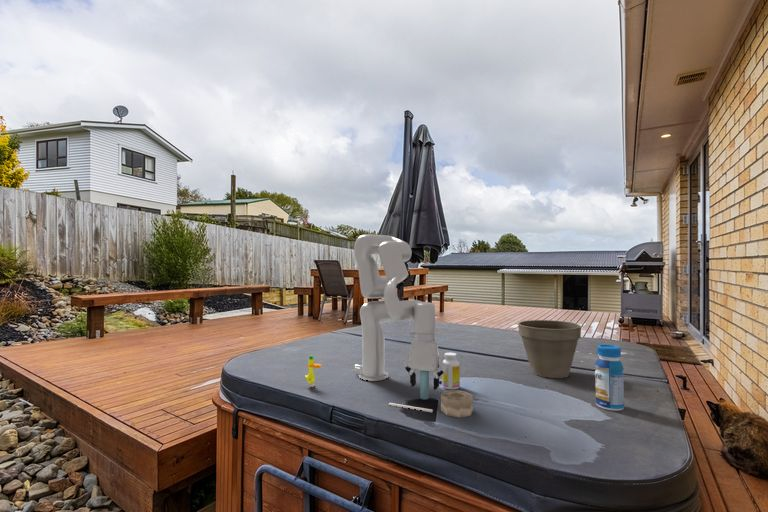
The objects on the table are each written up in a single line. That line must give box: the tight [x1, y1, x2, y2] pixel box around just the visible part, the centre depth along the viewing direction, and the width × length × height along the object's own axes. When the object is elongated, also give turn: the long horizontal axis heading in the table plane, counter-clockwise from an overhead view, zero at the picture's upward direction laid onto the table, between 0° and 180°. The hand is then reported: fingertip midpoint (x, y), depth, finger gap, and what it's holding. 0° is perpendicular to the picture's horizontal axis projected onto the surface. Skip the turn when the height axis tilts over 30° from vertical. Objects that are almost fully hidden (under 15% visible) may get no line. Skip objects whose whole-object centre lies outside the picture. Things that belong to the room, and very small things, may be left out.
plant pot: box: [517, 319, 582, 379], centre depth 161 cm, size 25×25×22 cm
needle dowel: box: [419, 370, 430, 400], centre depth 131 cm, size 3×3×12 cm
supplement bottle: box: [441, 352, 461, 391], centre depth 142 cm, size 7×7×13 cm
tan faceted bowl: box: [440, 389, 474, 418], centre depth 119 cm, size 10×10×5 cm
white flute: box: [388, 402, 434, 413], centre depth 121 cm, size 15×1×1 cm, turn 67°
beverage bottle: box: [594, 344, 625, 412], centre depth 123 cm, size 8×8×20 cm
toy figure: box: [304, 354, 323, 386], centre depth 142 cm, size 7×4×12 cm, turn 81°
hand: (424, 386), depth 131 cm, fingers open, 7 cm apart
